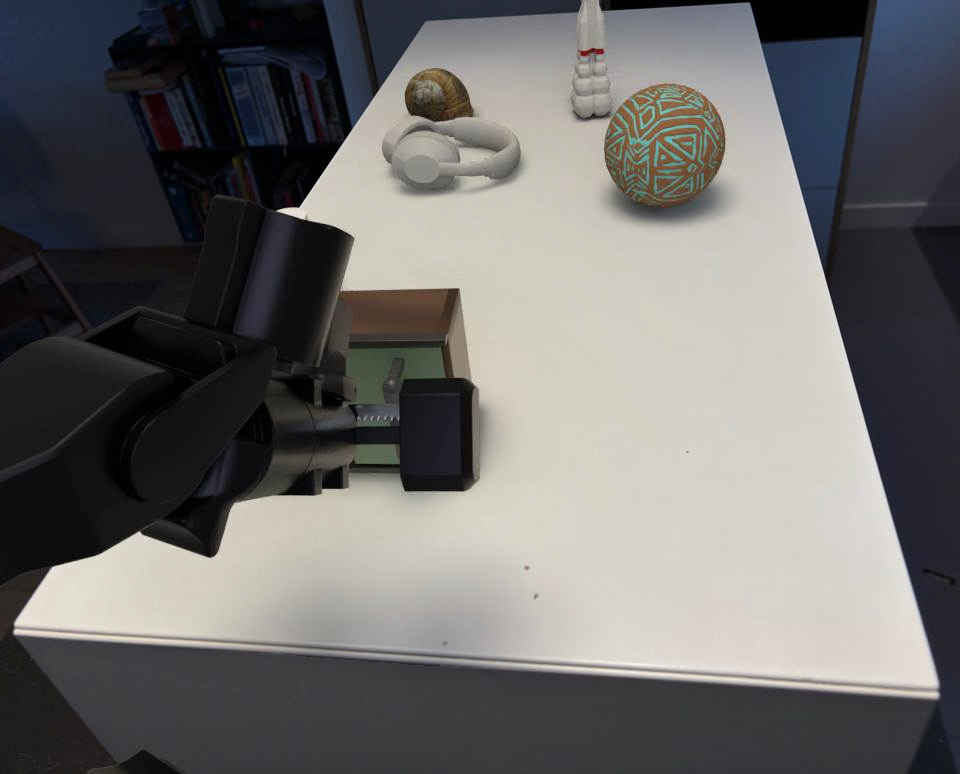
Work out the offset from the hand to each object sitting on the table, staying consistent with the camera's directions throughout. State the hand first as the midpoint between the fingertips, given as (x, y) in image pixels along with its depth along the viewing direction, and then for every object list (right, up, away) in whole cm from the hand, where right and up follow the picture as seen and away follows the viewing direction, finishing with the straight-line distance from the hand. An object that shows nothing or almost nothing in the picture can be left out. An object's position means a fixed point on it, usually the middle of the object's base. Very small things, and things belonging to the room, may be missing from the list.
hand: (361, 434), depth 54 cm
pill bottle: (-12, +13, +42) cm, 46 cm away
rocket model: (+26, +48, +80) cm, 97 cm away
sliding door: (+1, -5, +16) cm, 17 cm away
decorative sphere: (+32, +28, +53) cm, 68 cm away
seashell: (+1, +49, +85) cm, 98 cm away
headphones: (+4, +36, +68) cm, 76 cm away
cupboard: (-3, -2, +22) cm, 22 cm away
